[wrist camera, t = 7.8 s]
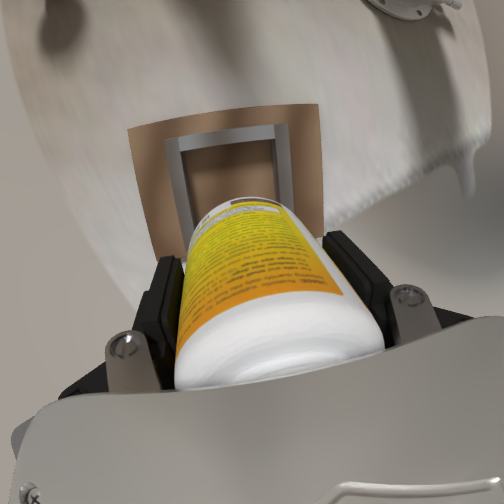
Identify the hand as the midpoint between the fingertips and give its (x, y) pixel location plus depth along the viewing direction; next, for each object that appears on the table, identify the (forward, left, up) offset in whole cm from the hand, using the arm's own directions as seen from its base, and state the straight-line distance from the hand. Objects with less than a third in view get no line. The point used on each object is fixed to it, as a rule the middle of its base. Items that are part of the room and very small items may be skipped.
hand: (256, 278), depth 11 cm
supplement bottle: (0, 0, -3) cm, 3 cm away
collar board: (0, 0, -18) cm, 18 cm away
